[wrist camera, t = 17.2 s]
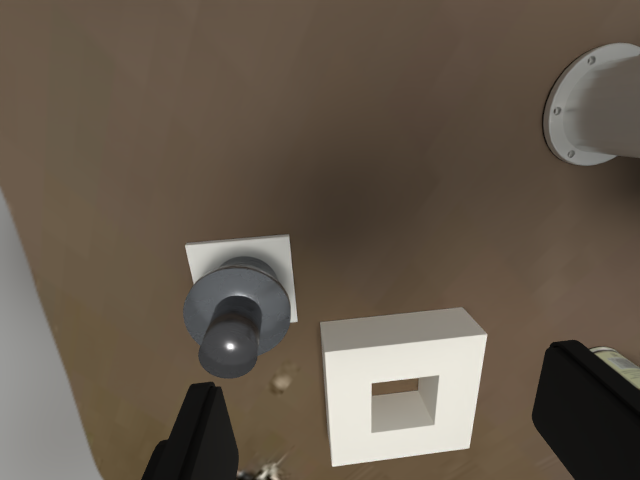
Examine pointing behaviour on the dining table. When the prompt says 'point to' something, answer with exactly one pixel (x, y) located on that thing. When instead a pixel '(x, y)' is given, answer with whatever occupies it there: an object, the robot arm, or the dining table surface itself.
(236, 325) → the grey round knobbed piece
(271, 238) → the mat
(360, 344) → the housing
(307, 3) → the dining table surface
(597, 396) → the robot arm
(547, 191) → the dining table surface
